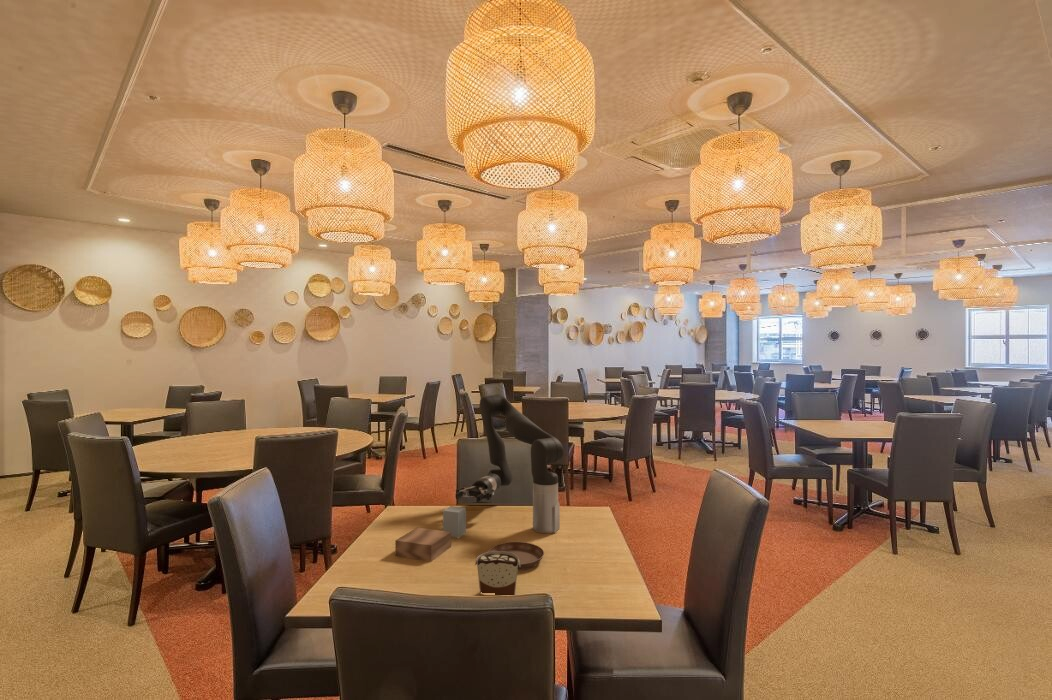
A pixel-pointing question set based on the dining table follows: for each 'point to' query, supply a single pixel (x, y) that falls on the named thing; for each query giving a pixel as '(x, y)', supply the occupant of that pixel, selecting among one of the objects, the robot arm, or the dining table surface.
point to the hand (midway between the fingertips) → (467, 498)
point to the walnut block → (423, 544)
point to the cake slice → (497, 572)
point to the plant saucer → (522, 553)
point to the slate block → (454, 521)
